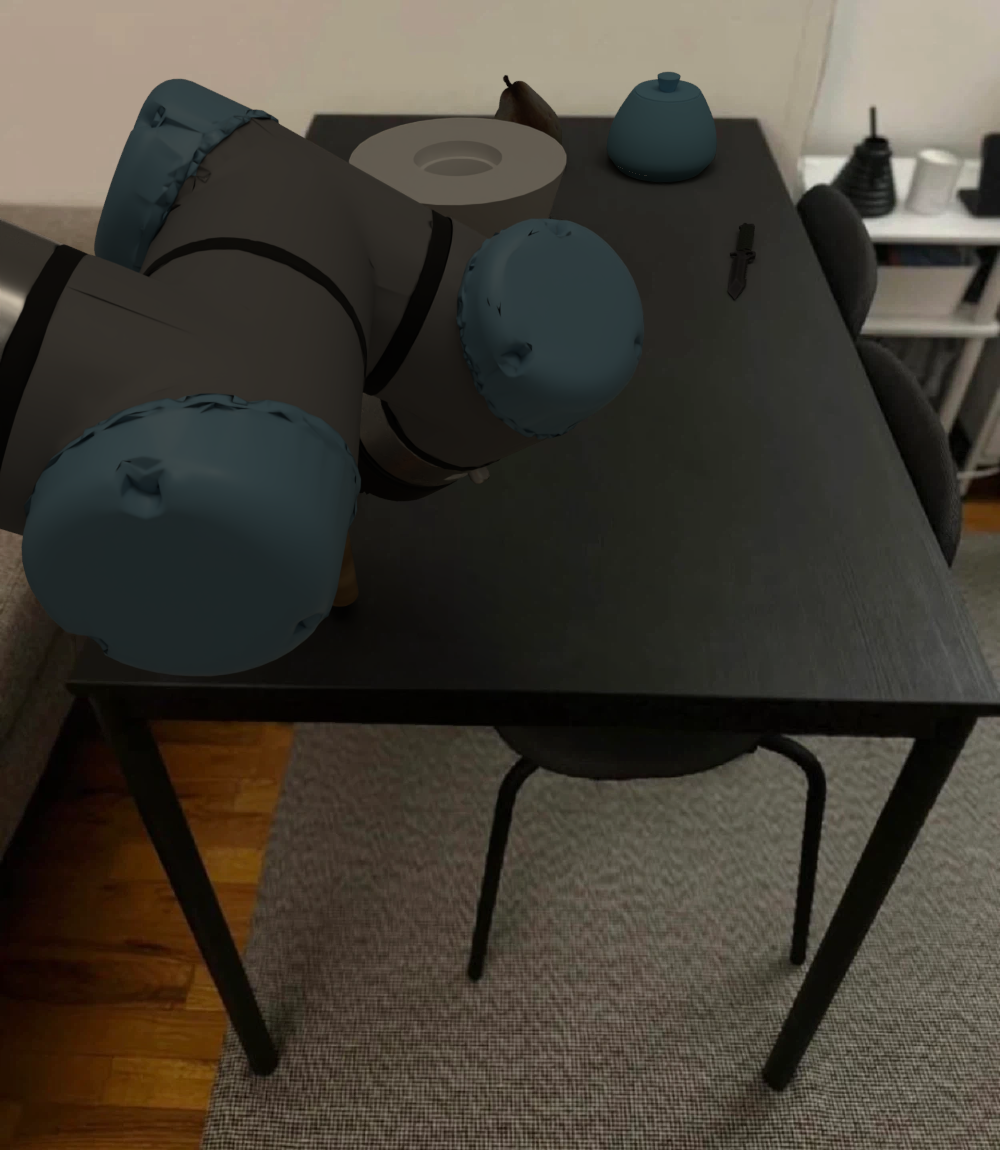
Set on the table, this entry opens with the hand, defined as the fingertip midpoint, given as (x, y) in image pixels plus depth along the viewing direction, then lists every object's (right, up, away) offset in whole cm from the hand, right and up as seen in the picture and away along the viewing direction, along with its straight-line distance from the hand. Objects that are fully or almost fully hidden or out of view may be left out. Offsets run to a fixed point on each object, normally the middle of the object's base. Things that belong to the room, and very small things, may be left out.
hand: (300, 499), depth 68 cm
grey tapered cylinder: (+10, +32, +44) cm, 55 cm away
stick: (+2, -7, +3) cm, 8 cm away
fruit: (+18, +51, +62) cm, 83 cm away
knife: (+43, +31, +42) cm, 68 cm away
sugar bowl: (+37, +52, +63) cm, 90 cm away
